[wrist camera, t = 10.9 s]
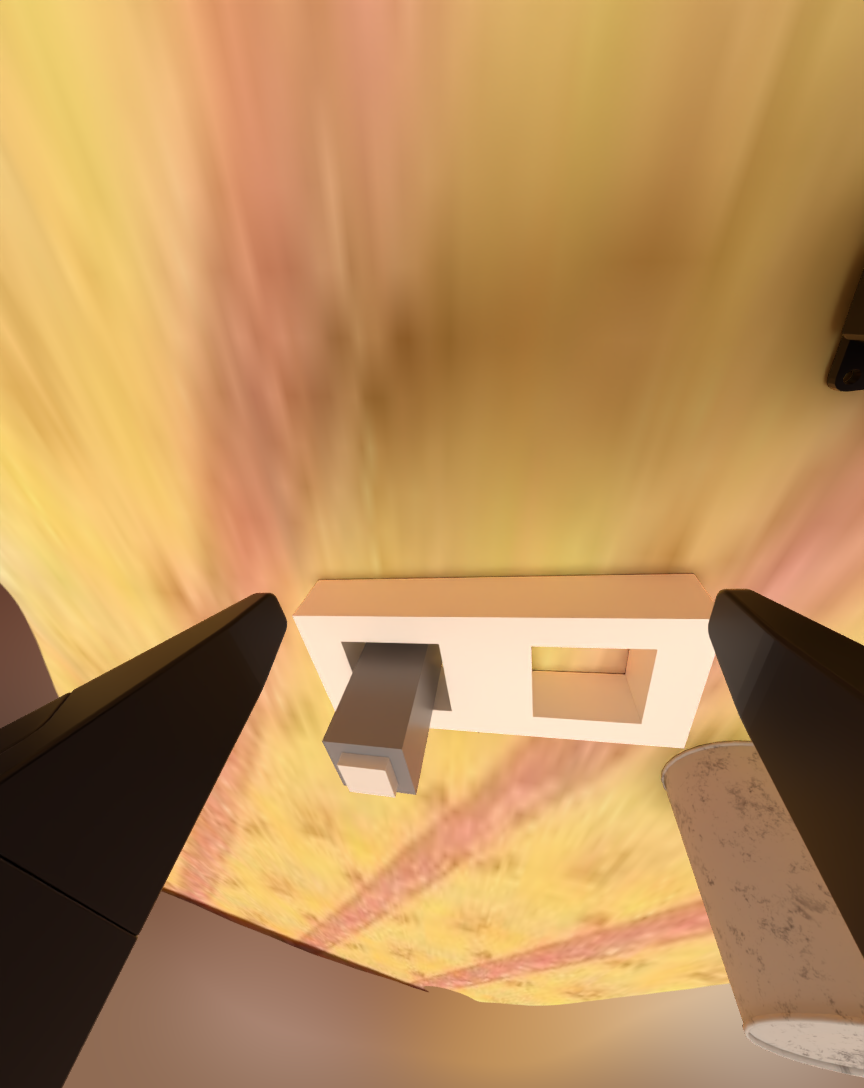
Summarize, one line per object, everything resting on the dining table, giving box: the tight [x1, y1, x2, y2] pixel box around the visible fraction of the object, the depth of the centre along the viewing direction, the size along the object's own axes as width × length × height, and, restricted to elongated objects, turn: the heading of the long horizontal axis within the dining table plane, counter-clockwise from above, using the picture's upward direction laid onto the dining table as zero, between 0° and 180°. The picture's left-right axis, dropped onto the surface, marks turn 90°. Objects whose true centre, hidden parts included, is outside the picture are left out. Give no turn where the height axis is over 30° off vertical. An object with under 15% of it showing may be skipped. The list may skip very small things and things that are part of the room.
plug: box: [322, 642, 442, 797], centre depth 22 cm, size 4×4×10 cm
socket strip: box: [293, 574, 715, 748], centre depth 23 cm, size 22×10×4 cm, turn 99°
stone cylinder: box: [661, 741, 864, 1077], centre depth 22 cm, size 10×10×12 cm
